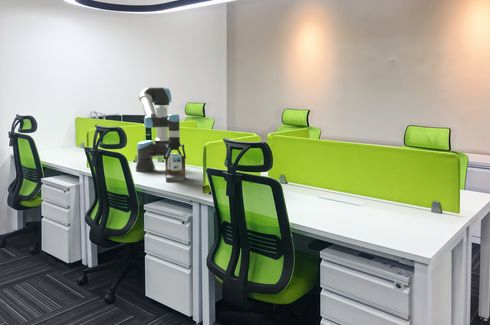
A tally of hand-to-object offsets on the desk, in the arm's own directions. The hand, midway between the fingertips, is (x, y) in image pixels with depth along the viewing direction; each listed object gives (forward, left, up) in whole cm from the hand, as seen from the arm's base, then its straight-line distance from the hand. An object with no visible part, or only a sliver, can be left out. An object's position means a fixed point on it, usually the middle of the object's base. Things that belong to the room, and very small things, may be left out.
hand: (174, 168), depth 307 cm
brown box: (-2, 0, -8) cm, 9 cm away
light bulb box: (0, 0, -1) cm, 1 cm away
